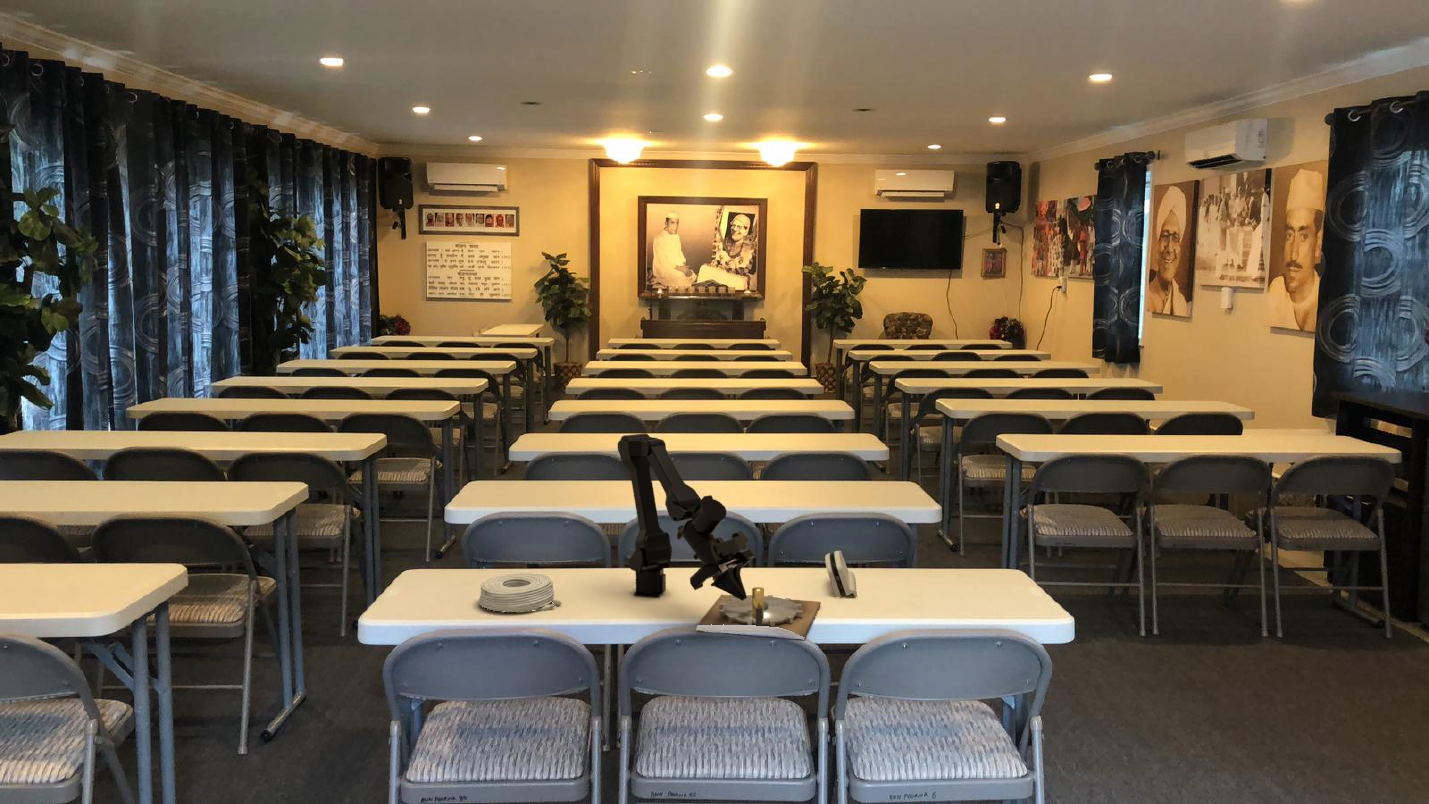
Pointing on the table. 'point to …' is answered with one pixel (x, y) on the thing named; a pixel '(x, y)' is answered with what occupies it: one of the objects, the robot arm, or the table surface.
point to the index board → (798, 626)
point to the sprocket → (771, 609)
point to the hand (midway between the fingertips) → (745, 599)
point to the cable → (518, 592)
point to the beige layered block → (840, 575)
